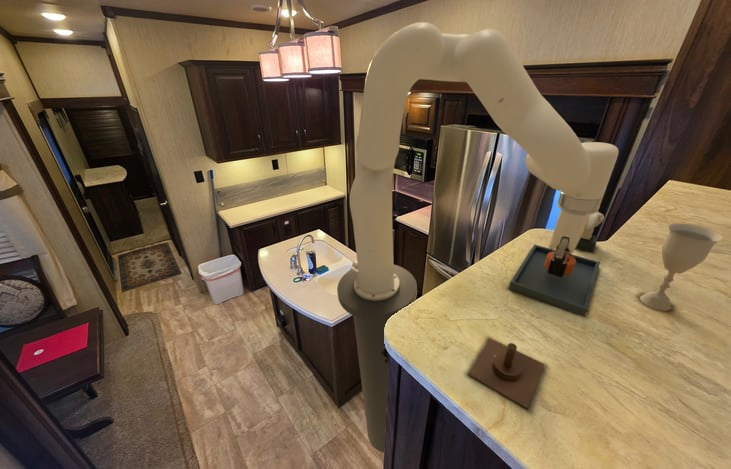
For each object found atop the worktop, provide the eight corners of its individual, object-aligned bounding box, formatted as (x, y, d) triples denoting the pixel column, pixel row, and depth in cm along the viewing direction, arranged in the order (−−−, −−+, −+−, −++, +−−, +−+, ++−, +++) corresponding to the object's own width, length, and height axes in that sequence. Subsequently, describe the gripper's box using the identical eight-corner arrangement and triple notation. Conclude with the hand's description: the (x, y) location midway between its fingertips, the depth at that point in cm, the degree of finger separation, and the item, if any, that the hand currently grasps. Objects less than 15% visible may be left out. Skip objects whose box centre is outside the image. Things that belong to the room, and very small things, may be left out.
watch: (595, 243, 86) (608, 209, 81) (591, 255, 81) (604, 220, 76) (573, 237, 89) (584, 205, 84) (568, 249, 84) (579, 215, 79)
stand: (467, 374, 52) (471, 350, 49) (488, 339, 59) (493, 316, 55) (527, 409, 46) (537, 385, 43) (543, 366, 53) (552, 341, 49)
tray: (508, 288, 71) (510, 282, 70) (532, 250, 85) (534, 244, 84) (584, 316, 62) (587, 309, 61) (597, 268, 76) (600, 261, 75)
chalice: (626, 296, 66) (660, 227, 58) (646, 288, 68) (682, 220, 59) (664, 317, 60) (708, 244, 52) (685, 308, 62) (731, 236, 53)
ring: (541, 269, 72) (544, 259, 70) (547, 258, 76) (550, 248, 74) (570, 278, 68) (573, 268, 67) (574, 266, 72) (578, 256, 71)
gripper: (566, 186, 71) (549, 248, 80) (550, 211, 60) (531, 280, 69) (604, 192, 67) (581, 257, 75) (594, 220, 55) (568, 292, 64)
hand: (558, 267), depth 72 cm, fingers closed on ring, 6 cm apart
